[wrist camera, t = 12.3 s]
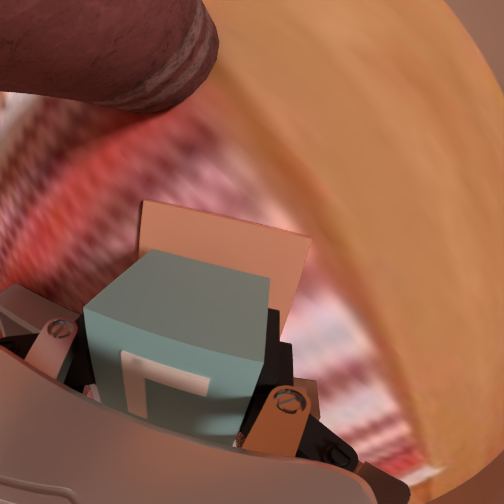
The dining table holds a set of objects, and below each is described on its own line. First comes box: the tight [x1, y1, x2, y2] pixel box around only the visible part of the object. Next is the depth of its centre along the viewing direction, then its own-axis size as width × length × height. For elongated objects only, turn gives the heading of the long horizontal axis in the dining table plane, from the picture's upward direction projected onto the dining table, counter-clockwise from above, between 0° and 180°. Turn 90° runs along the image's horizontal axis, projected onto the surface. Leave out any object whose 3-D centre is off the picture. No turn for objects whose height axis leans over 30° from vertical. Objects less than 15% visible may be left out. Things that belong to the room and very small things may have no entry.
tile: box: [138, 199, 312, 336], centre depth 14 cm, size 8×8×1 cm
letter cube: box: [83, 249, 270, 446], centre depth 9 cm, size 5×5×5 cm
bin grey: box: [0, 283, 101, 403], centre depth 17 cm, size 16×10×3 cm, turn 168°
